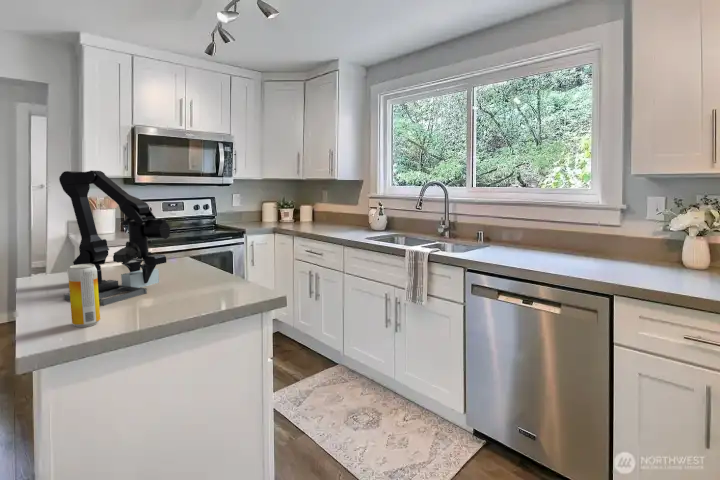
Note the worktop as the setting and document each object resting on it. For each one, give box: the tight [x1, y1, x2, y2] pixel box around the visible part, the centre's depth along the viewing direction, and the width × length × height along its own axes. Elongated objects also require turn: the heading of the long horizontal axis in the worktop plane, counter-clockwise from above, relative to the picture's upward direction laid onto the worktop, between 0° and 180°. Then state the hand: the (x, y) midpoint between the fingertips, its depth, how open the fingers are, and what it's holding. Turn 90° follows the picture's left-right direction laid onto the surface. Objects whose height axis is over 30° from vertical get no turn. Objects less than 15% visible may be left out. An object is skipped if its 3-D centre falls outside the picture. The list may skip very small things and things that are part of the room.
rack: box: [63, 279, 148, 307], centre depth 135 cm, size 16×16×4 cm
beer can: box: [67, 264, 101, 328], centre depth 109 cm, size 6×6×15 cm
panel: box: [120, 267, 160, 288], centre depth 150 cm, size 4×12×5 cm, turn 159°
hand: (141, 282), depth 150 cm, fingers closed on panel, 4 cm apart
